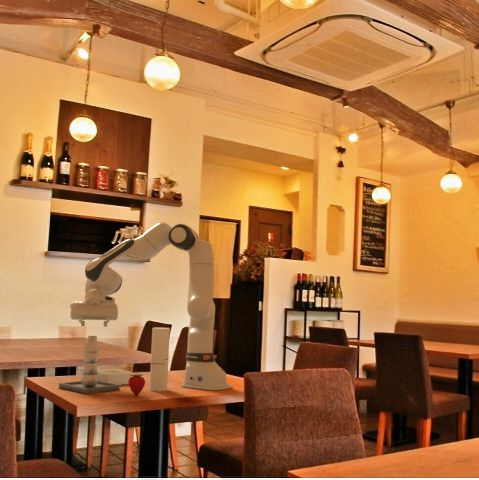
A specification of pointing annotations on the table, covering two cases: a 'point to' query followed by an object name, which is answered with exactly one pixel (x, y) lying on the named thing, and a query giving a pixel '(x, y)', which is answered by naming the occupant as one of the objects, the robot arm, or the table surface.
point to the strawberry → (136, 383)
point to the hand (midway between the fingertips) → (94, 325)
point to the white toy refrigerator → (159, 359)
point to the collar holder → (114, 376)
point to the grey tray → (80, 388)
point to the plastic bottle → (90, 362)
